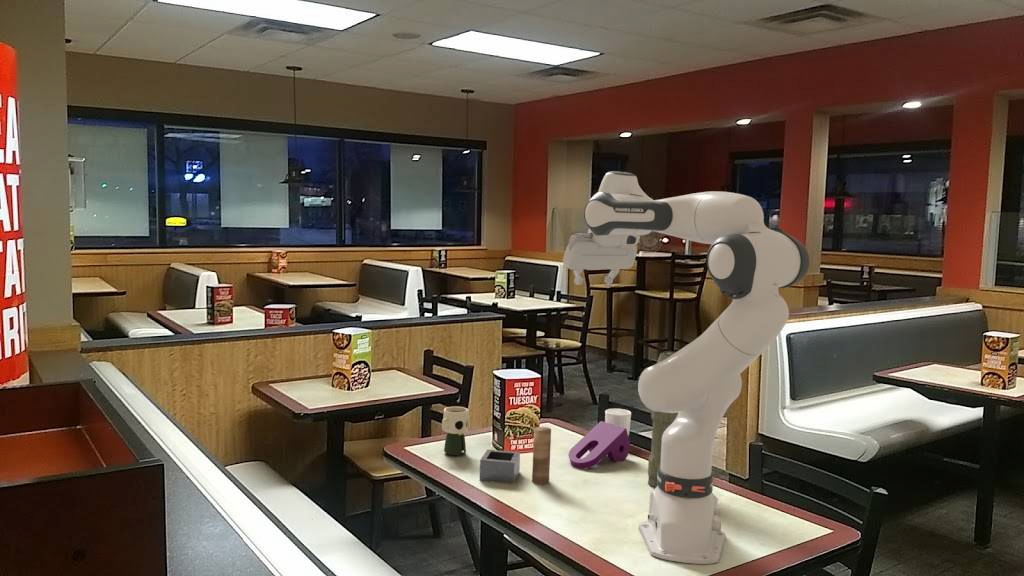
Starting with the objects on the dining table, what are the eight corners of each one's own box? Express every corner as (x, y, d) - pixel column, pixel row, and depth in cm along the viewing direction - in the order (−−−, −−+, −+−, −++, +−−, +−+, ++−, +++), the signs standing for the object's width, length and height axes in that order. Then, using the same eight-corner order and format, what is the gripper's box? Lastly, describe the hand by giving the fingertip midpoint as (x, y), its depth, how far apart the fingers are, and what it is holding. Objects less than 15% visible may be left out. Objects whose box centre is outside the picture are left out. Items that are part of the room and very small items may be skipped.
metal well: (513, 483, 198) (514, 462, 198) (479, 480, 200) (480, 459, 199) (519, 472, 207) (520, 452, 207) (486, 469, 209) (487, 449, 208)
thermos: (678, 495, 194) (686, 358, 191) (636, 484, 201) (643, 352, 198) (693, 486, 201) (701, 354, 198) (652, 475, 208) (659, 348, 205)
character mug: (450, 461, 214) (452, 415, 213) (432, 455, 219) (433, 410, 218) (476, 452, 223) (478, 408, 222) (458, 447, 227) (459, 403, 226)
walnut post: (547, 485, 198) (550, 432, 197) (530, 483, 199) (533, 430, 198) (549, 479, 202) (552, 427, 201) (533, 477, 203) (535, 426, 202)
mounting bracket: (594, 490, 212) (632, 451, 223) (586, 466, 209) (626, 428, 219) (569, 480, 219) (607, 443, 230) (561, 457, 216) (600, 420, 226)
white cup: (615, 438, 242) (617, 407, 241) (634, 444, 236) (636, 412, 235) (598, 442, 237) (599, 410, 236) (617, 449, 231) (619, 416, 230)
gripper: (578, 237, 185) (565, 289, 190) (644, 238, 196) (630, 288, 201) (565, 228, 190) (552, 279, 195) (630, 229, 200) (617, 278, 206)
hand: (592, 283), depth 198 cm, fingers open, 8 cm apart
